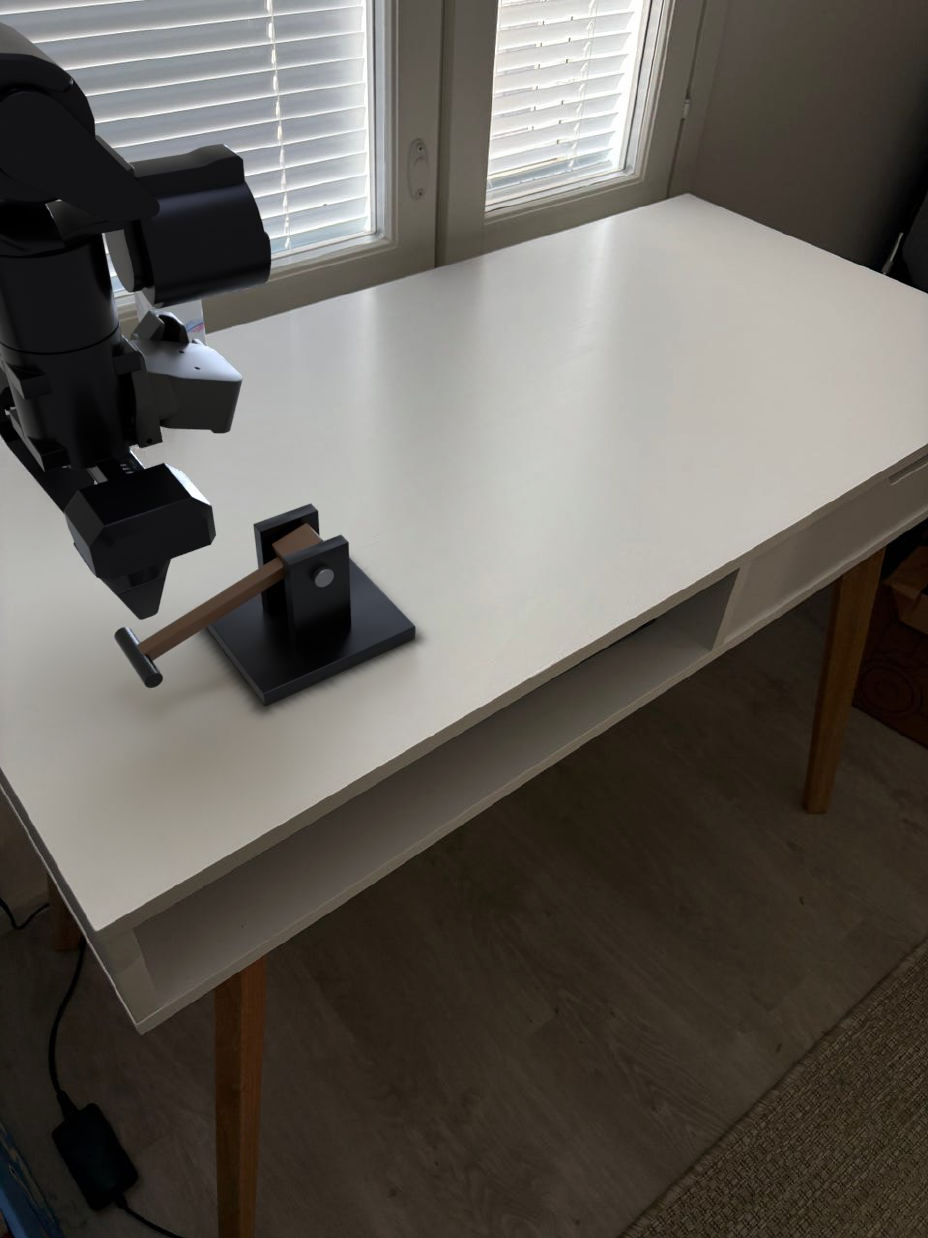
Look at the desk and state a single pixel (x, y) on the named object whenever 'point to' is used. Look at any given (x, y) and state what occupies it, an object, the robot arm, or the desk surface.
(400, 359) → the desk surface
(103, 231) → the robot arm
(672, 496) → the desk surface
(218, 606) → the lever
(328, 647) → the bracket
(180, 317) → the ink box
